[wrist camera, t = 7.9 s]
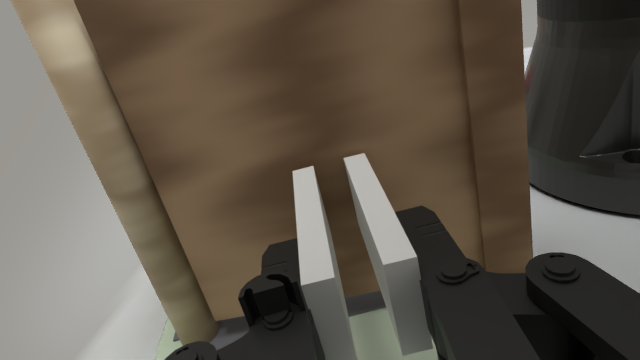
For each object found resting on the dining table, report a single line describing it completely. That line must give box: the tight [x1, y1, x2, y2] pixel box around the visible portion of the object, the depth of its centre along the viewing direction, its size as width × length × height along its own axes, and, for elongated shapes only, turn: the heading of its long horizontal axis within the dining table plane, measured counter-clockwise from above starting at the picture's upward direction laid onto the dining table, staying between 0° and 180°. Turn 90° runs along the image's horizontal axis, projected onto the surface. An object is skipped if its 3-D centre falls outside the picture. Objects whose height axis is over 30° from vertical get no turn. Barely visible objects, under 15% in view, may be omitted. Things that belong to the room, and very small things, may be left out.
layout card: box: [155, 290, 438, 360], centre depth 20 cm, size 17×28×1 cm, turn 6°
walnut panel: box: [74, 0, 533, 321], centre depth 16 cm, size 13×2×15 cm, turn 90°
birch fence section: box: [11, 0, 220, 346], centre depth 23 cm, size 2×14×16 cm, turn 5°
